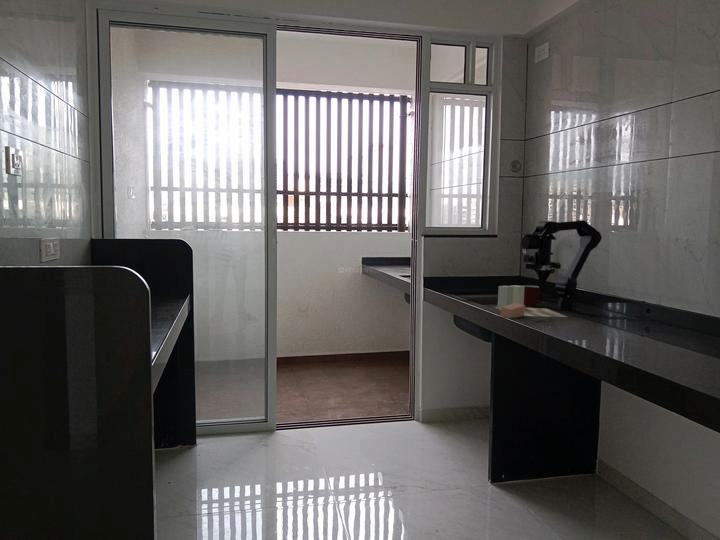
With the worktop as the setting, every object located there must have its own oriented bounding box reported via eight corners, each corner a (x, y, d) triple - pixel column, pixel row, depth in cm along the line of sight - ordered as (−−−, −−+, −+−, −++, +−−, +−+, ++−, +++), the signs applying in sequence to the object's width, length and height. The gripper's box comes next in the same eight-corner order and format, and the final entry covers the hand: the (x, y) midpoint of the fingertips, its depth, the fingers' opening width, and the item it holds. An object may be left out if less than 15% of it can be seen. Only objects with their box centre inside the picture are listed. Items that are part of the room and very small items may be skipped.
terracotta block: (515, 302, 232) (501, 306, 225) (525, 305, 228) (510, 309, 222) (514, 313, 233) (500, 317, 226) (524, 316, 229) (509, 320, 223)
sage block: (503, 307, 250) (505, 285, 249) (512, 309, 247) (513, 286, 246) (497, 308, 247) (498, 286, 246) (505, 310, 244) (507, 287, 243)
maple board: (546, 310, 254) (546, 308, 254) (568, 319, 231) (568, 317, 231) (494, 309, 252) (494, 306, 252) (510, 317, 229) (511, 315, 229)
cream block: (514, 307, 253) (516, 285, 253) (523, 308, 250) (524, 286, 249) (508, 307, 251) (509, 285, 250) (517, 309, 247) (518, 286, 246)
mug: (540, 306, 265) (541, 285, 264) (545, 309, 257) (547, 287, 256) (518, 306, 265) (519, 285, 264) (522, 308, 257) (524, 287, 256)
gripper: (540, 248, 258) (538, 282, 259) (515, 248, 246) (513, 284, 247) (562, 250, 249) (560, 285, 250) (537, 250, 237) (535, 287, 239)
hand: (541, 285), depth 247 cm, fingers closed
